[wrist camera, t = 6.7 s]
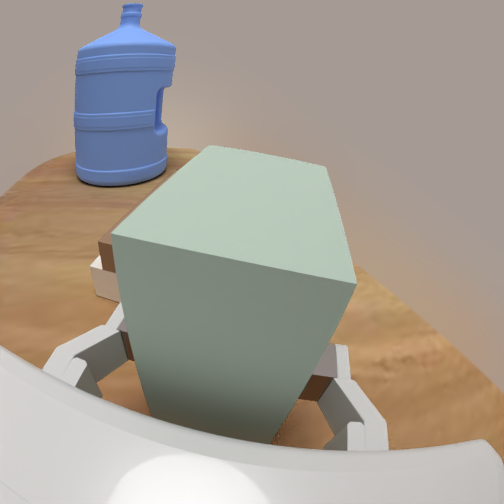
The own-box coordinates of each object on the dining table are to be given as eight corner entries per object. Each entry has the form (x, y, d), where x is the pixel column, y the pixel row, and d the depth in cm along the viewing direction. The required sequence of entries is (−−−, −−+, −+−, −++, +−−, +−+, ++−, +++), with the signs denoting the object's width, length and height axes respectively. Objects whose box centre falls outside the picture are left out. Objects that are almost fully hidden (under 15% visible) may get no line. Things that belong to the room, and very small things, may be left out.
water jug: (92, 197, 36) (101, -9, 20) (67, 168, 44) (73, 15, 28) (184, 175, 46) (204, 3, 30) (141, 152, 54) (154, 15, 38)
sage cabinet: (264, 368, 19) (324, 161, 11) (247, 475, 13) (356, 283, 5) (199, 354, 19) (214, 140, 12) (166, 456, 13) (110, 232, 5)
